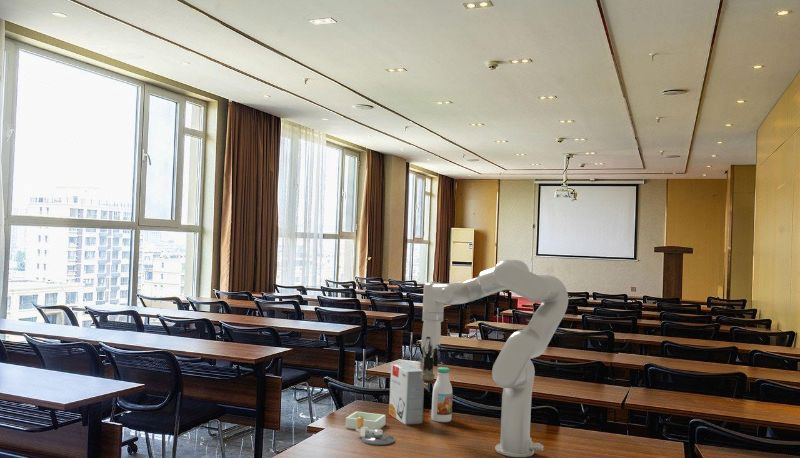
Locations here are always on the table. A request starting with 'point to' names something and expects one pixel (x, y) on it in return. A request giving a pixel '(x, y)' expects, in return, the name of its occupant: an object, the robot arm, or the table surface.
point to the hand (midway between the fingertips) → (430, 366)
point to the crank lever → (376, 433)
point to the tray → (366, 420)
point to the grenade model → (428, 373)
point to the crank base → (373, 440)
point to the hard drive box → (406, 394)
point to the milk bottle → (442, 397)
